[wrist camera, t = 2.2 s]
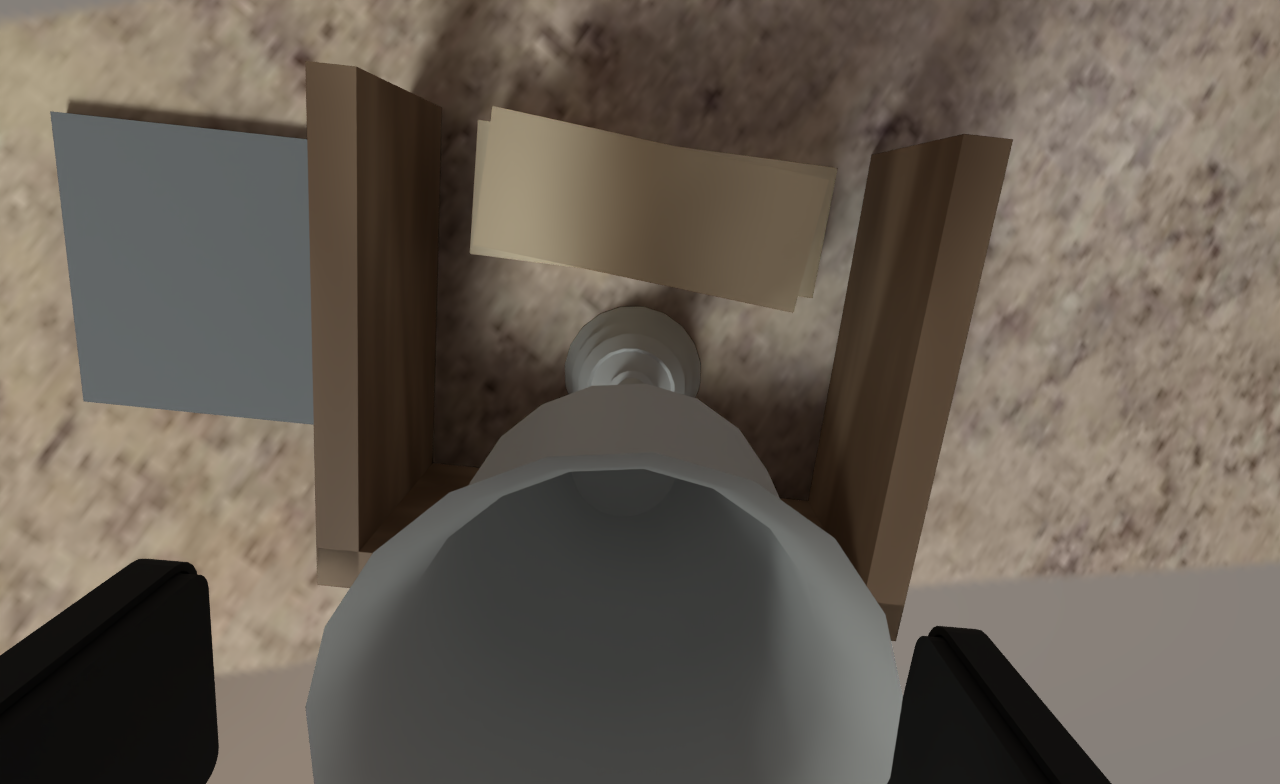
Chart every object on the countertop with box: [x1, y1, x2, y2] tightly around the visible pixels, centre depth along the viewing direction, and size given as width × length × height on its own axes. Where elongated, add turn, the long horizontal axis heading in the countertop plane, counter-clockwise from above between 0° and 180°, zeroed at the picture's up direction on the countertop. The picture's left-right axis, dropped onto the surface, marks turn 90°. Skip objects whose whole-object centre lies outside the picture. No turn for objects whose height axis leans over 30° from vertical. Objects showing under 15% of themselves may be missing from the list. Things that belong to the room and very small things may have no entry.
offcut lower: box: [470, 120, 838, 298], centre depth 23 cm, size 11×4×3 cm, turn 83°
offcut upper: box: [473, 106, 829, 313], centre depth 20 cm, size 9×4×3 cm, turn 78°
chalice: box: [306, 307, 903, 784], centre depth 17 cm, size 7×7×18 cm
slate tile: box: [50, 111, 314, 425], centre depth 24 cm, size 10×10×1 cm
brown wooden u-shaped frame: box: [305, 61, 1013, 641], centre depth 22 cm, size 17×14×7 cm
